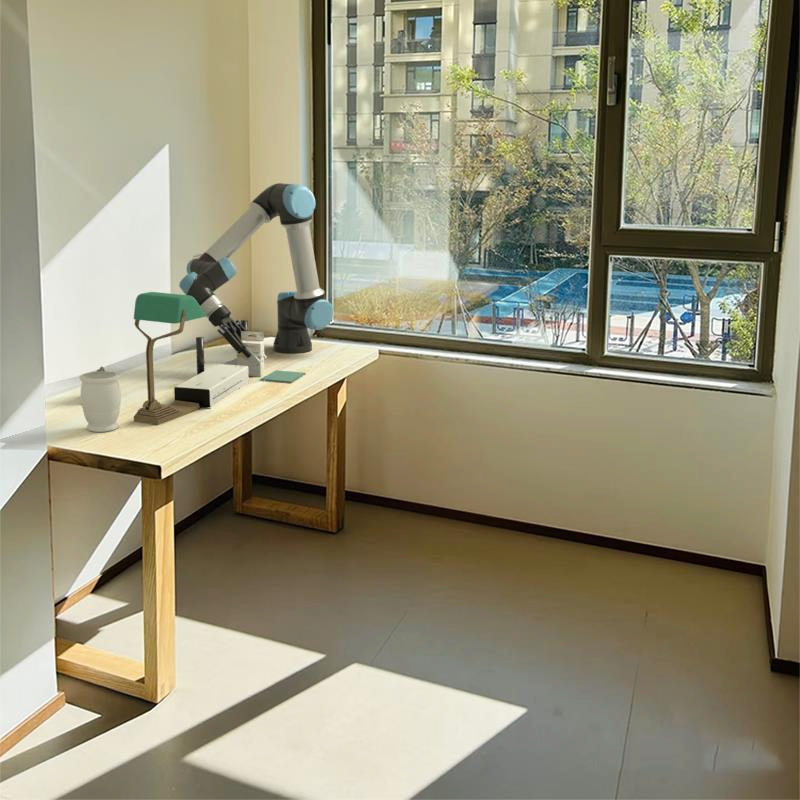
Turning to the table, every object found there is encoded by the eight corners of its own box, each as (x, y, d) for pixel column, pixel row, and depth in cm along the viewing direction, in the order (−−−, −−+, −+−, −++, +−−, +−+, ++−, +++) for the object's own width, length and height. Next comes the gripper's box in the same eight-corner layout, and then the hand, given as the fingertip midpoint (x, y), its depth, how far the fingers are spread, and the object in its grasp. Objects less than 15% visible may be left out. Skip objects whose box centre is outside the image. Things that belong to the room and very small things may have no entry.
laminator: (209, 409, 276) (209, 389, 275) (171, 406, 279) (170, 386, 277) (248, 384, 309) (248, 365, 307) (214, 381, 311) (213, 363, 309)
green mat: (276, 371, 325) (276, 370, 325) (305, 374, 323) (305, 372, 323) (260, 380, 312) (260, 378, 312) (291, 383, 310) (291, 381, 310)
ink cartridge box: (236, 375, 318) (236, 333, 315) (240, 372, 323) (240, 330, 320) (260, 376, 317) (260, 334, 314) (264, 373, 322) (264, 332, 319)
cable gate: (238, 360, 341) (238, 319, 338) (254, 362, 340) (253, 320, 336) (191, 383, 305) (189, 337, 302) (207, 385, 304) (206, 338, 300)
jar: (89, 422, 259) (86, 370, 255) (126, 423, 259) (124, 371, 255) (77, 433, 248) (73, 379, 245) (116, 434, 249) (113, 380, 245)
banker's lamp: (123, 419, 263) (116, 296, 254) (168, 403, 281) (164, 288, 272) (169, 426, 257) (164, 301, 248) (212, 409, 275) (209, 292, 266)
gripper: (220, 314, 328) (264, 363, 328) (196, 323, 311) (242, 374, 311) (233, 300, 325) (277, 349, 326) (210, 308, 308) (257, 360, 308)
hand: (260, 361), depth 318 cm, fingers closed on ink cartridge box, 5 cm apart
